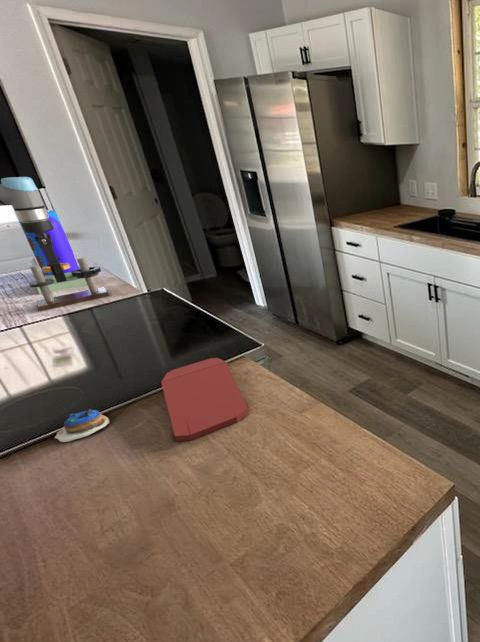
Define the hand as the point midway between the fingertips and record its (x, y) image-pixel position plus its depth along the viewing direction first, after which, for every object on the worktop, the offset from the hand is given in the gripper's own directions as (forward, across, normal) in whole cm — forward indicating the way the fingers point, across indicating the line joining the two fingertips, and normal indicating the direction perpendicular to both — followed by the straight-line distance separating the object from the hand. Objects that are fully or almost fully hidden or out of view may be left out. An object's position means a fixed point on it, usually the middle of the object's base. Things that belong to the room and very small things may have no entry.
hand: (61, 279), depth 158 cm
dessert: (+3, -121, +4) cm, 121 cm away
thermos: (+2, +24, -1) cm, 25 cm away
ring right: (-7, -26, -7) cm, 28 cm away
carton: (+3, -129, -14) cm, 130 cm away
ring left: (-4, 0, 0) cm, 4 cm away
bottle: (+3, +14, -2) cm, 14 cm away
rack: (+2, -26, -1) cm, 27 cm away
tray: (+2, 0, 0) cm, 2 cm away
